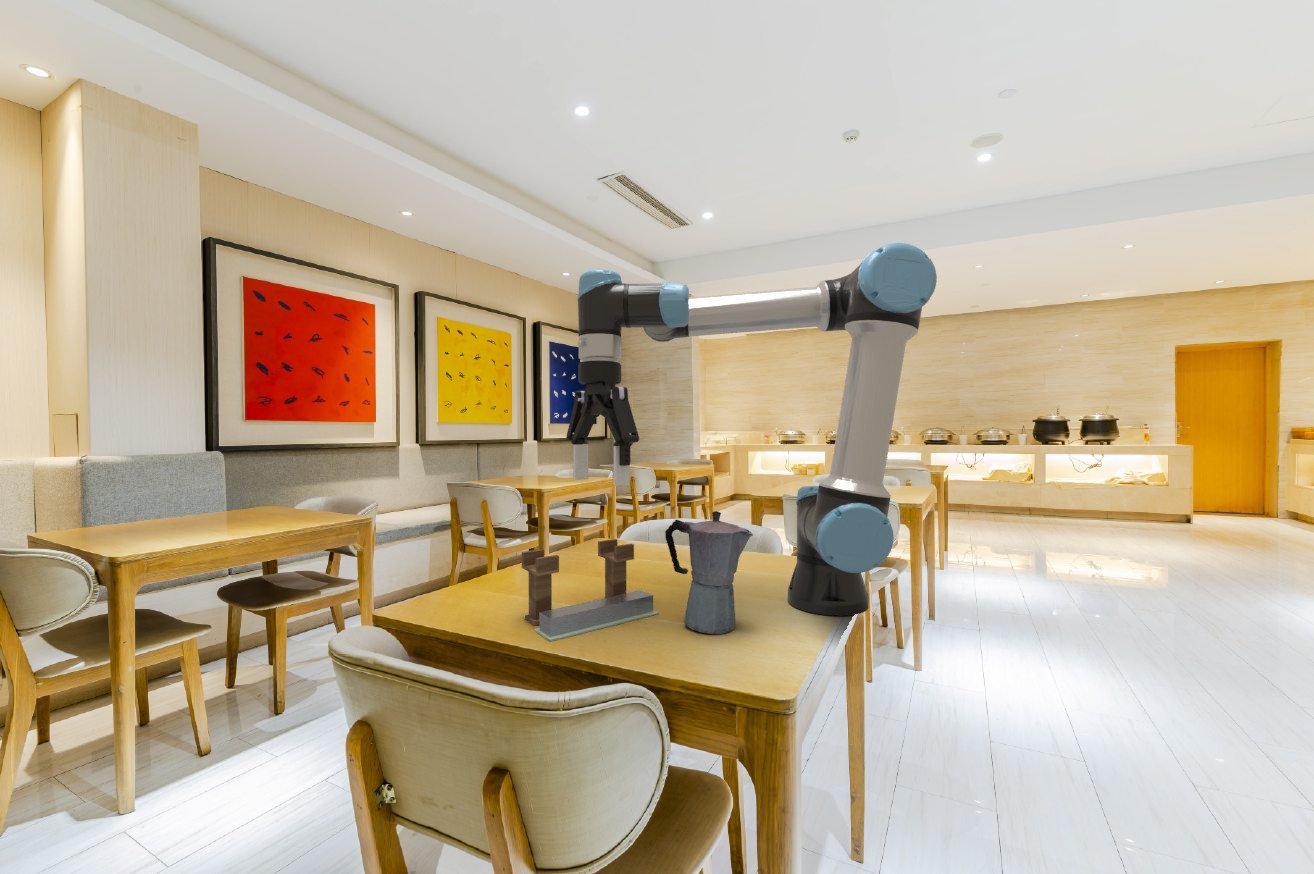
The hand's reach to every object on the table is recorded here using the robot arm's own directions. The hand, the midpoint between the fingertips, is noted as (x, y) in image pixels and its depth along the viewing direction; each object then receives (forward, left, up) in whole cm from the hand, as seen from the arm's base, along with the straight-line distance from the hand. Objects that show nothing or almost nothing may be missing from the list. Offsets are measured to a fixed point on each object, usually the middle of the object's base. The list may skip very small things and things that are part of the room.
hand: (600, 482), depth 97 cm
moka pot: (-13, -14, -25) cm, 31 cm away
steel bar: (0, 0, -24) cm, 24 cm away
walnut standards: (+7, 0, -25) cm, 26 cm away
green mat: (0, 0, -25) cm, 25 cm away
